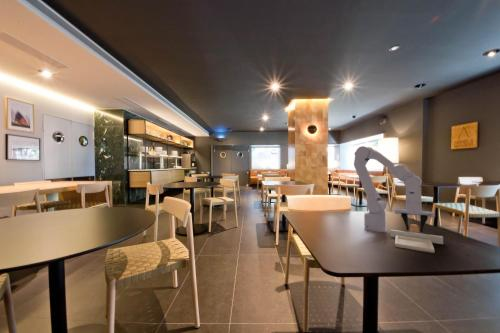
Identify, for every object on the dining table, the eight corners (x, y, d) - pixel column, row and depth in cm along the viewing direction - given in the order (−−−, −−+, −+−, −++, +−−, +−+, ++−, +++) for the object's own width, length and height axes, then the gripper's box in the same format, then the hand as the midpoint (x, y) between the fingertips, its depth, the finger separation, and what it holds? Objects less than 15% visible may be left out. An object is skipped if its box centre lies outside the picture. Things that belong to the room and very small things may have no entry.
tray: (395, 246, 84) (395, 243, 84) (395, 238, 94) (395, 235, 94) (434, 253, 77) (434, 249, 77) (430, 243, 87) (430, 240, 87)
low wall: (390, 236, 96) (390, 230, 96) (390, 235, 97) (390, 229, 97) (443, 244, 85) (443, 237, 85) (442, 243, 86) (442, 236, 86)
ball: (408, 234, 96) (408, 224, 96) (408, 231, 99) (408, 222, 99) (420, 235, 93) (420, 226, 93) (420, 233, 96) (419, 223, 96)
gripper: (394, 201, 97) (395, 230, 97) (435, 204, 89) (436, 235, 88) (394, 199, 103) (395, 226, 103) (433, 201, 94) (434, 231, 94)
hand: (414, 230), depth 96 cm, fingers closed on ball, 4 cm apart
